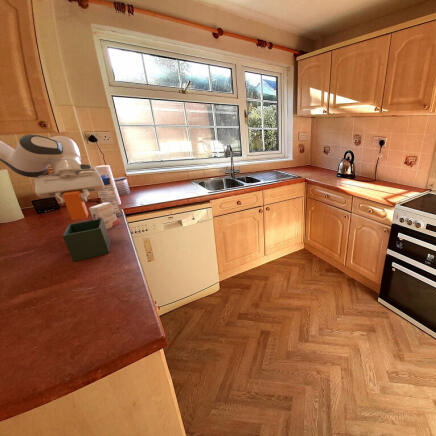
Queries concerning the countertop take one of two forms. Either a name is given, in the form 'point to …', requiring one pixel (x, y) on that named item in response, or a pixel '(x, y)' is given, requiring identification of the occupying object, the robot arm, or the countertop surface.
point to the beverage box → (109, 194)
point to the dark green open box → (87, 239)
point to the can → (122, 186)
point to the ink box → (104, 214)
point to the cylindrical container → (107, 171)
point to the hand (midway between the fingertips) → (74, 202)
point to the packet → (75, 205)
